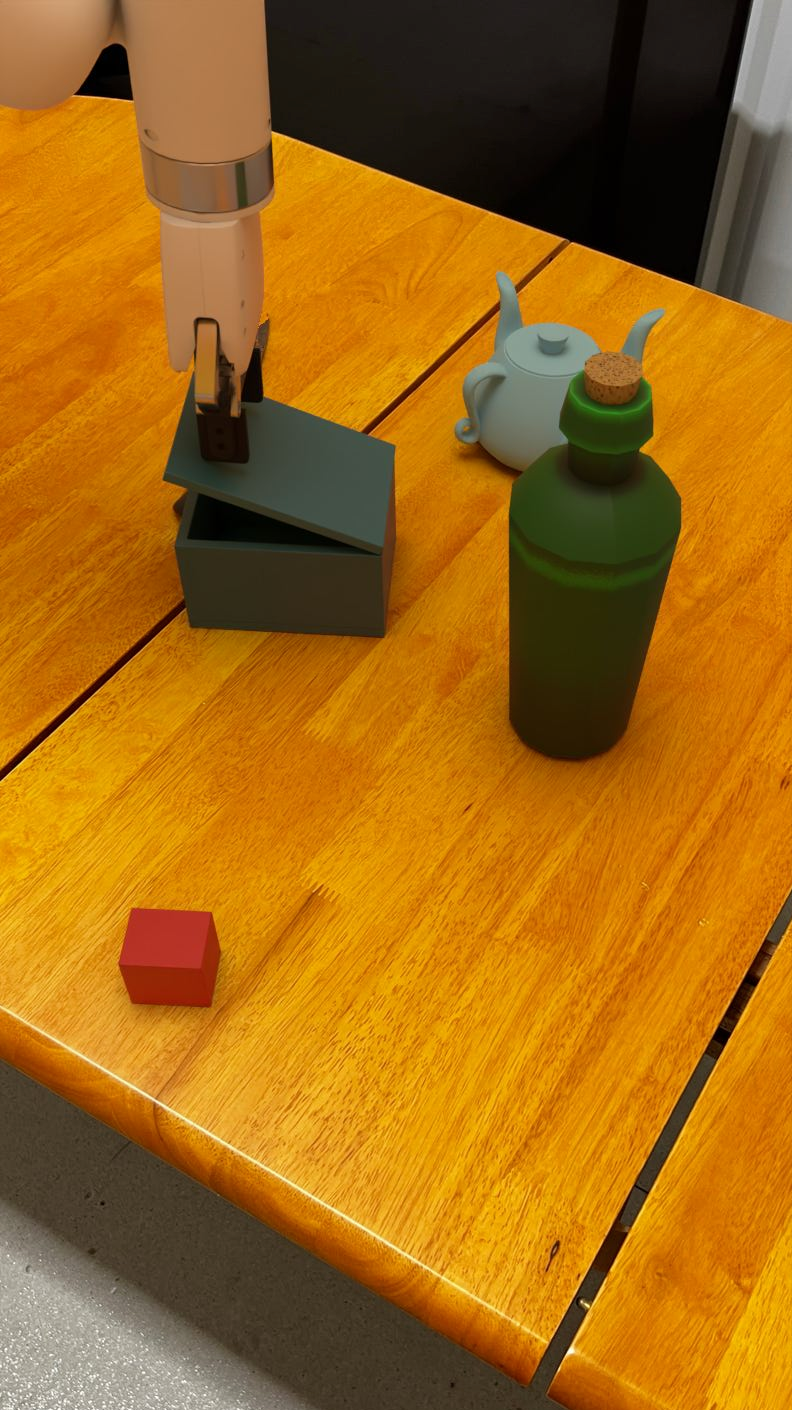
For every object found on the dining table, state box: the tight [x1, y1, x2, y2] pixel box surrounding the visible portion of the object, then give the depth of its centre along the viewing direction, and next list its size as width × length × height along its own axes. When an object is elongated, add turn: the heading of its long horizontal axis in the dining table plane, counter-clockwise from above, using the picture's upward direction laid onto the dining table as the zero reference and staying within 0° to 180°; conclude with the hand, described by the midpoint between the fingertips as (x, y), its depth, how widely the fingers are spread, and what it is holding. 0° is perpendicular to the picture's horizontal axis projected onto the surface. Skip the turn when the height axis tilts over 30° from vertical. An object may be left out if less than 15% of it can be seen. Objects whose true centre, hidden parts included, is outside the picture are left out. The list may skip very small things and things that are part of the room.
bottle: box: [508, 350, 682, 759], centre depth 83 cm, size 11×11×28 cm
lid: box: [162, 356, 397, 555], centre depth 91 cm, size 15×12×6 cm
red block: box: [117, 907, 222, 1008], centre depth 78 cm, size 5×4×4 cm
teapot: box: [453, 270, 666, 473], centre depth 109 cm, size 15×15×10 cm
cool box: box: [173, 457, 397, 638], centre depth 98 cm, size 15×12×8 cm
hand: (233, 426), depth 91 cm, fingers closed on lid, 6 cm apart
